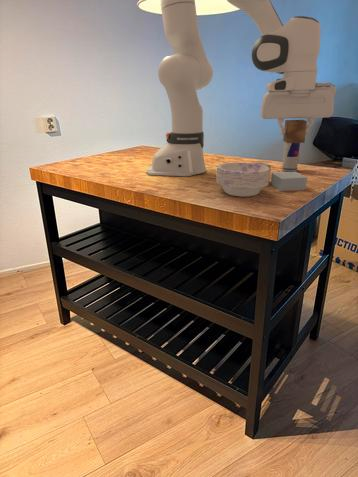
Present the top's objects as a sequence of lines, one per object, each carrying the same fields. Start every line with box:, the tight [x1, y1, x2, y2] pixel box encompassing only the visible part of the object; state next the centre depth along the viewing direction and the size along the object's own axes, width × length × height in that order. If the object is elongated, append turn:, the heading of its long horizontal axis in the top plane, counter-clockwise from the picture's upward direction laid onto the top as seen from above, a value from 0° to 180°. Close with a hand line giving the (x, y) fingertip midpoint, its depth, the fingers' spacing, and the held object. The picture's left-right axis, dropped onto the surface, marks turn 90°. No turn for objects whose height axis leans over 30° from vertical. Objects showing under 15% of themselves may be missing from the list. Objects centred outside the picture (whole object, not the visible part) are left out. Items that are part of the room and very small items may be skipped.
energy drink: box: [281, 141, 301, 172], centre depth 130 cm, size 5×5×12 cm
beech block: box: [254, 161, 272, 184], centre depth 116 cm, size 5×5×6 cm
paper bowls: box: [215, 162, 271, 198], centre depth 104 cm, size 15×15×8 cm
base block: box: [270, 171, 308, 192], centre depth 110 cm, size 8×8×4 cm
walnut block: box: [282, 119, 308, 144], centre depth 104 cm, size 5×5×6 cm
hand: (294, 134), depth 105 cm, fingers closed on walnut block, 5 cm apart
